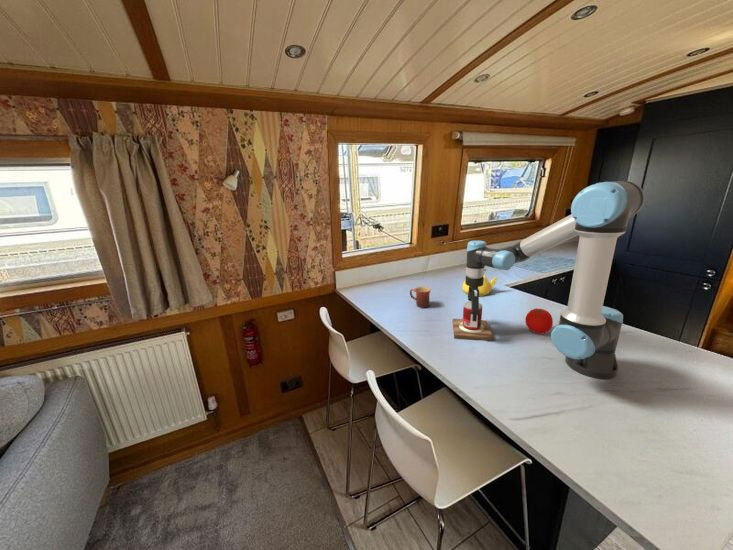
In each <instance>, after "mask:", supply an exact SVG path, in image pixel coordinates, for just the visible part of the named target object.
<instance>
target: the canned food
mask: <svg viewBox="0 0 733 550" xmlns="http://www.w3.org/2000/svg"><path fill="white" fill-rule="evenodd" d="M462 311H463V312H462V319H463V327H464V328H466V329H468V330H478V329H480V327H481V320H482V318H483V317H482V316H483V305H482V304H481V303H480V302H479V315H478V320H477V327H470V323H471V314H470V312H472V304H471V302H468V301H466V302H464V304H463V310H462Z"/></svg>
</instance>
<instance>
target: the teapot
mask: <svg viewBox="0 0 733 550" xmlns="http://www.w3.org/2000/svg"><path fill="white" fill-rule="evenodd" d="M483 277H484V282H483V285H482V286H480V287H478V290H479V297H484V296H486V295H487V296H488V294H489V293H490V292H491V291H492V289H493V287H494V285H495V283H496V282H497V280H498V277H496V276H494V277H493V278H492V279H491V280H490V281H489V280H488V278H487V277H486V275H484V276H483ZM461 286H462V288H461V289H462V290H463V292H464V293H465V294H466V295H468V291H469V286H468V285H466V284H465V280H463V283H462V285H461Z"/></svg>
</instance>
